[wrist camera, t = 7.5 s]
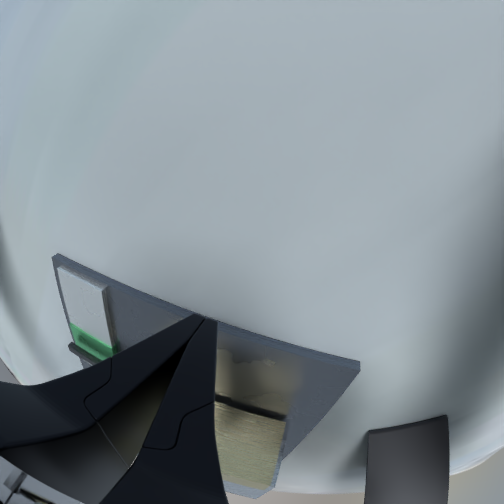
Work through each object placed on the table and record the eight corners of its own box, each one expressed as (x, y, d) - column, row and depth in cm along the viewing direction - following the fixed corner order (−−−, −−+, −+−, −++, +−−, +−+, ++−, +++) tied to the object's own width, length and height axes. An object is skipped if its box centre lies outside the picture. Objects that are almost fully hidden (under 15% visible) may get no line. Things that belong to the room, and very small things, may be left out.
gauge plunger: (285, 422, 15) (270, 485, 11) (258, 457, 18) (244, 502, 14) (74, 332, 17) (37, 371, 13) (95, 387, 20) (69, 421, 16)
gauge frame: (359, 361, 12) (360, 440, 8) (276, 461, 20) (265, 502, 16) (57, 253, 15) (7, 287, 11) (96, 388, 22) (73, 418, 18)
